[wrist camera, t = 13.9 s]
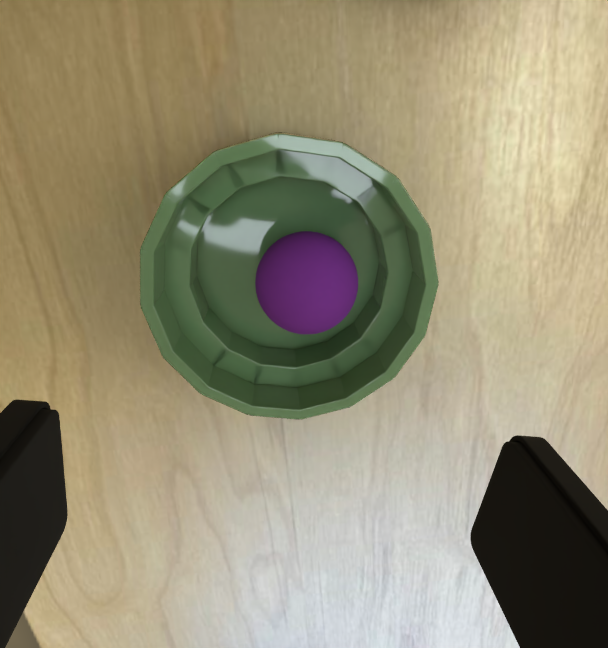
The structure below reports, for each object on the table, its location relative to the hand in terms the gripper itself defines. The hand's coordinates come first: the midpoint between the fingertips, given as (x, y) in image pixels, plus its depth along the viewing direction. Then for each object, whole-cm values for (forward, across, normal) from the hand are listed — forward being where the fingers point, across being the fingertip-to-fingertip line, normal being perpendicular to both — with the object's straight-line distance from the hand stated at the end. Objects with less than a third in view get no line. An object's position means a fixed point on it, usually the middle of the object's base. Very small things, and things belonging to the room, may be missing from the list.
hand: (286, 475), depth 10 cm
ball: (+14, -2, 0) cm, 14 cm away
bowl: (+17, -1, 0) cm, 17 cm away
